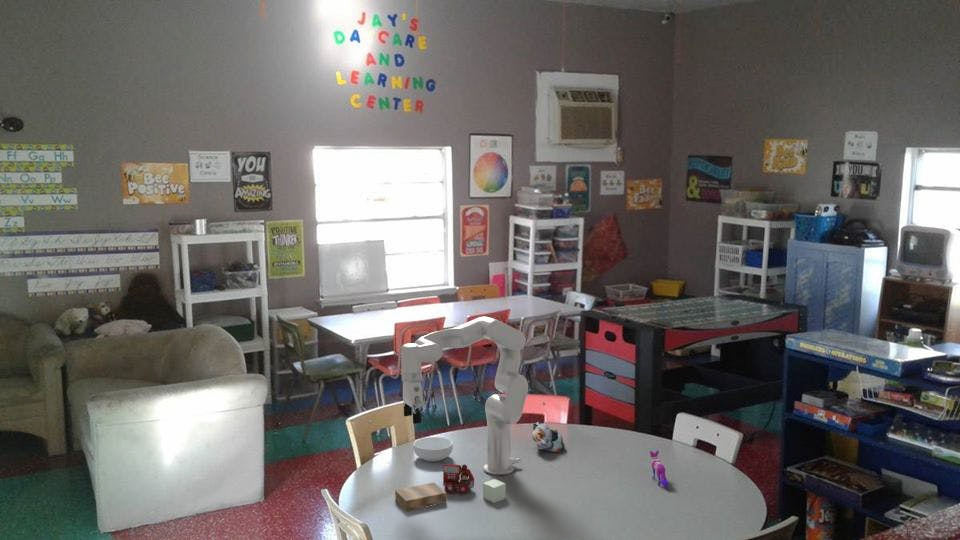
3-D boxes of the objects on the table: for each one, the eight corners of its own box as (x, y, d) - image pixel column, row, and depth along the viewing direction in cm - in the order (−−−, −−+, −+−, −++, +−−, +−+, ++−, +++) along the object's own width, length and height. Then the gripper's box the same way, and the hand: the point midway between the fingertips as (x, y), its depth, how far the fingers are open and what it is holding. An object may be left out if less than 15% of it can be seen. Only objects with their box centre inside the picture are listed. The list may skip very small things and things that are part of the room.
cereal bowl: (460, 456, 344) (460, 440, 343) (438, 468, 330) (437, 452, 329) (428, 449, 353) (428, 433, 352) (405, 460, 339) (405, 444, 338)
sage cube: (494, 493, 305) (494, 478, 304) (505, 498, 301) (505, 483, 300) (483, 498, 301) (483, 483, 300) (493, 503, 297) (494, 487, 296)
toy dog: (656, 472, 326) (656, 448, 325) (671, 490, 308) (672, 464, 307) (647, 472, 326) (647, 448, 324) (661, 490, 308) (662, 465, 306)
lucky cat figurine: (568, 453, 348) (557, 429, 342) (542, 463, 348) (531, 440, 342) (561, 432, 361) (550, 409, 355) (536, 442, 362) (525, 420, 356)
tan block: (434, 492, 307) (434, 482, 306) (446, 502, 297) (446, 492, 296) (395, 500, 299) (395, 490, 299) (406, 511, 290) (406, 501, 289)
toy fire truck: (472, 494, 304) (472, 468, 303) (440, 493, 306) (440, 467, 304) (475, 487, 311) (475, 462, 310) (443, 486, 313) (443, 460, 311)
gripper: (429, 380, 296) (430, 424, 299) (412, 369, 312) (413, 411, 314) (410, 382, 293) (411, 427, 295) (394, 372, 308) (395, 414, 311)
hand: (412, 419), depth 305 cm, fingers open, 9 cm apart
